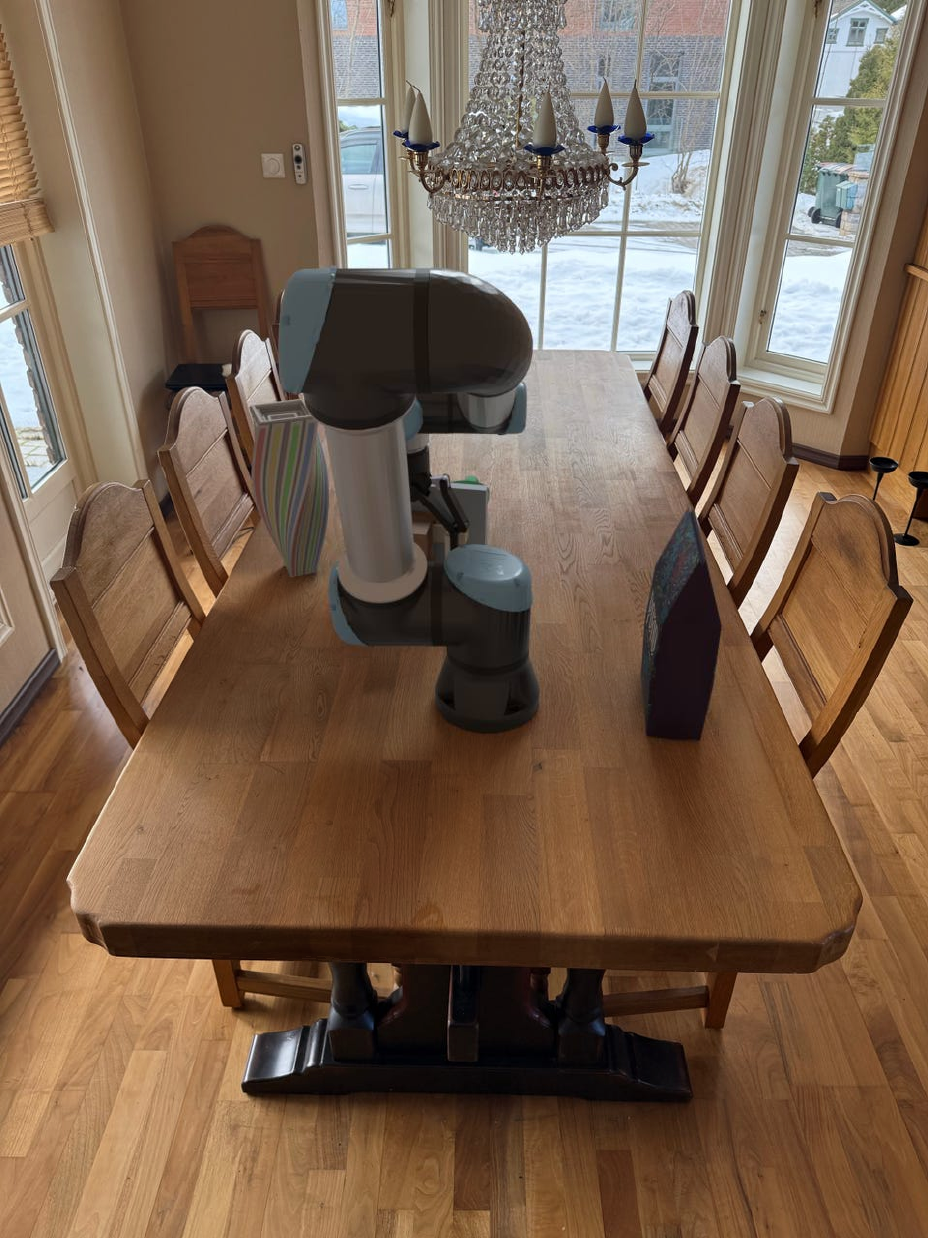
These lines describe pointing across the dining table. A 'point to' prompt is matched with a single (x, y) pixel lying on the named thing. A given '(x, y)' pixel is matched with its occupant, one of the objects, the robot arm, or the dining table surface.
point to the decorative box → (680, 638)
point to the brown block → (424, 532)
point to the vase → (291, 482)
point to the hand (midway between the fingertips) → (410, 563)
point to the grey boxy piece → (473, 507)
